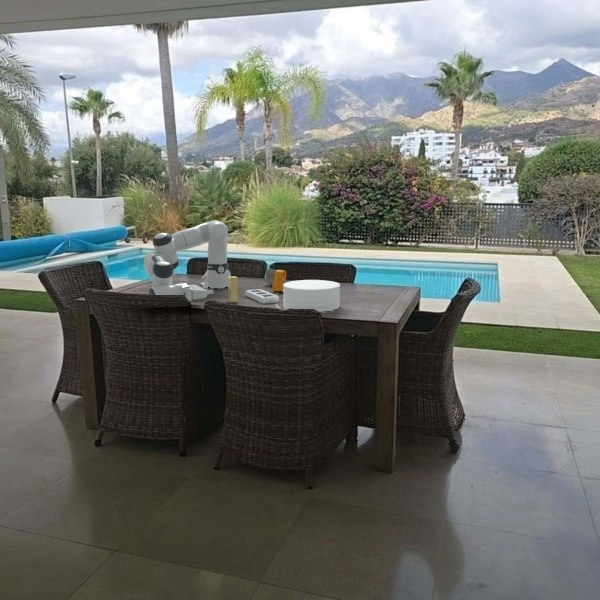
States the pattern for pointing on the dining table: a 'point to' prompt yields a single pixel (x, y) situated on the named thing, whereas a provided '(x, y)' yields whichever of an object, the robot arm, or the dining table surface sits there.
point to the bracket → (279, 280)
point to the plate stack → (311, 295)
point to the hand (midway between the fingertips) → (210, 289)
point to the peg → (233, 289)
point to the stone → (270, 276)
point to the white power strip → (262, 296)
